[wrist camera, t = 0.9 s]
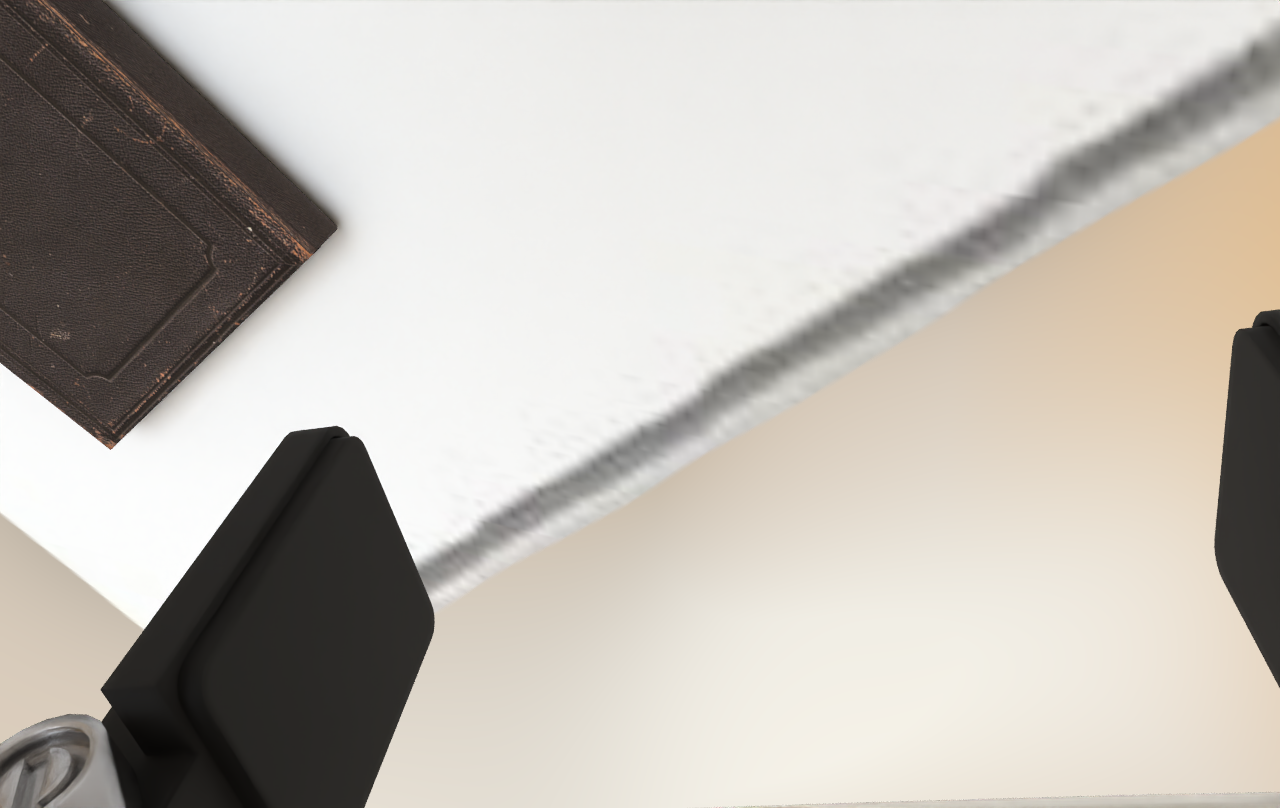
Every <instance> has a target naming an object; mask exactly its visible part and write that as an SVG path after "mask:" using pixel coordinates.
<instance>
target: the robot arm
mask: <svg viewBox="0 0 1280 808" xmlns="http://www.w3.org/2000/svg"><path fill="white" fill-rule="evenodd" d="M1214 547H1215V556H1216V561H1217V566H1218V569H1219V572H1220V575H1221V577H1222V579H1223V581H1224V583H1225V585H1226V587H1227V589H1228V591H1229V593H1230V595H1231V597H1232V598H1233V600H1234V602H1235V604H1236V606H1237V608H1238V610H1239V612H1240V614H1241V616H1242V617H1243V619H1244V621H1245V623H1246V625H1247V627H1248V629H1249V630H1250V632H1251V634H1252V636H1253V638H1254V640H1255V642H1256V644H1257V646H1258V648H1259V650H1260V651H1261V653H1262V655H1263V657H1264V659H1265V661H1266V663H1267V665H1268V667H1269V669H1270V670H1271V672H1272V674H1273V676H1274V678H1275V680H1276V682H1277V683H1278V686H1279V687H1280V310H1271V311H1263V312H1260V313H1259V314H1258V315H1257V316H1256V318H1255V320H1254V323H1253V326H1252V328H1245V329H1239V330H1238V331H1237V332H1236V334H1235V336H1234V340H1233V346H1232V356H1231V367H1230V378H1229V389H1228V399H1227V411H1226V421H1225V432H1224V444H1223V454H1222V465H1221V476H1220V487H1219V498H1218V509H1217V519H1216V530H1215V546H1214ZM433 632H434V611H433V607H432V604H431V601H430V599H429V597H428V594H427V592H426V590H425V587H424V585H423V582H422V580H421V578H420V575H419V573H418V571H417V568H416V566H415V563H414V561H413V559H412V556H411V554H410V552H409V549H408V547H407V545H406V542H405V540H404V537H403V535H402V533H401V530H400V528H399V526H398V523H397V521H396V519H395V516H394V514H393V511H392V509H391V507H390V504H389V502H388V500H387V497H386V495H385V492H384V490H383V488H382V485H381V483H380V481H379V478H378V476H377V474H376V471H375V469H374V466H373V464H372V462H371V459H370V457H369V455H368V452H367V450H366V448H365V446H364V444H363V442H362V441H361V440H360V439H359V438H358V437H355V436H351V437H350V436H349V434H348V433H347V432H346V431H345V430H344V429H343V428H341V427H338V426H333V427H325V428H317V429H308V430H300V431H294V432H290V433H289V434H288V435H287V436H286V437H285V438H284V439H283V441H282V442H281V443H280V445H279V446H278V447H277V449H276V450H275V452H274V453H273V454H272V456H271V457H270V458H269V460H268V461H267V462H266V464H265V465H264V467H263V468H262V469H261V471H260V472H259V473H258V475H257V476H256V478H255V479H254V480H253V482H252V483H251V484H250V486H249V487H248V488H247V490H246V491H245V493H244V494H243V495H242V497H241V498H240V499H239V501H238V502H237V504H236V505H235V506H234V508H233V509H232V510H231V512H230V513H229V514H228V516H227V517H226V519H225V520H224V521H223V523H222V524H221V525H220V527H219V528H218V530H217V531H216V532H215V534H214V535H213V536H212V538H211V539H210V540H209V542H208V543H207V545H206V546H205V547H204V549H203V550H202V551H201V553H200V554H199V556H198V557H197V558H196V560H195V561H194V562H193V564H192V565H191V566H190V568H189V569H188V571H187V572H186V573H185V575H184V576H183V577H182V579H181V580H180V582H179V583H178V584H177V586H176V587H175V588H174V590H173V591H172V592H171V594H170V595H169V597H168V598H167V599H166V601H165V602H164V603H163V605H162V606H161V608H160V609H159V610H158V612H157V613H156V614H155V616H154V617H153V618H152V620H151V621H150V623H149V624H148V625H147V627H146V628H145V629H144V631H143V632H142V634H141V635H140V636H139V638H138V639H137V640H136V642H135V643H134V645H133V646H132V647H131V649H130V650H129V651H128V653H127V654H126V655H125V657H124V658H123V660H122V661H121V662H120V664H119V665H118V666H117V668H116V669H115V671H114V672H113V673H112V675H111V676H110V677H109V679H108V680H107V681H106V683H105V684H104V686H103V687H102V688H101V691H102V693H103V694H104V696H105V697H106V698H107V700H108V701H109V703H110V704H111V706H112V708H111V709H110V710H109V712H108V713H107V715H106V716H105V718H104V719H103V721H102V722H101V721H100V720H97V719H95V718H93V717H91V716H89V715H80V714H79V715H76V714H67V715H64V716H59V717H55V718H51V719H47V720H44V721H42V722H40V723H37V724H35V725H33V726H30V727H28V728H26V729H23V730H22V731H20V732H18V733H17V734H15V735H14V736H12V737H10V738H9V739H7V740H5V741H4V742H2V743H1V744H0V808H364V807H365V804H366V802H367V799H368V797H369V794H370V792H371V789H372V787H373V784H374V781H375V779H376V777H377V774H378V772H379V769H380V766H381V764H382V762H383V759H384V757H385V754H386V752H387V749H388V747H389V744H390V742H391V739H392V737H393V734H394V732H395V729H396V727H397V724H398V722H399V719H400V717H401V714H402V712H403V709H404V706H405V704H406V702H407V699H408V697H409V694H410V691H411V689H412V686H413V684H414V682H415V679H416V676H417V674H418V672H419V669H420V666H421V664H422V661H423V659H424V656H425V654H426V651H427V649H428V646H429V644H430V641H431V639H432V636H433ZM716 808H1280V792H1262V793H1261V792H1260V793H1219V794H1218V793H1216V794H1215V793H1212V794H1148V795H1112V796H1081V797H1080V796H1077V797H1042V798H1007V799H972V800H941V801H940V800H937V801H905V802H904V801H901V802H866V803H836V804H806V805H776V806H748V807H747V806H746V807H745V806H744V807H716Z"/></svg>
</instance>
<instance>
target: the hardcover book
mask: <svg viewBox="0 0 1280 808" xmlns="http://www.w3.org/2000/svg"><path fill="white" fill-rule="evenodd" d="M336 230H337V226H336V225H335V224H334V223H333V222H332V221H331V220H330V219H329V218H328V217H327V216H326V215H325V214H324V213H323V212H322V211H321V210H320V209H319V208H318V207H317V206H316V205H315V204H314V203H312V202H311V201H310V200H309V199H308V198H307V197H306V196H305V195H304V194H303V193H302V192H301V191H300V190H299V189H298V188H297V187H296V186H295V185H294V184H293V183H292V182H291V181H290V180H288V179H287V178H286V177H285V176H284V175H283V174H282V173H281V172H280V171H279V170H278V169H277V168H276V167H275V166H274V165H273V164H272V163H271V162H270V161H269V160H268V159H267V158H266V157H265V156H263V155H262V154H261V153H260V152H259V151H258V150H257V149H256V148H255V147H254V146H253V145H252V144H251V143H250V142H249V141H248V140H247V139H246V138H245V137H244V136H243V135H242V134H241V133H239V132H238V131H237V130H236V129H235V128H234V127H233V126H232V125H231V124H230V123H229V122H228V121H227V120H226V119H225V118H224V117H223V116H222V115H221V114H220V113H219V112H218V111H217V110H215V109H214V108H213V107H212V106H211V105H210V104H209V103H208V102H207V101H206V100H205V99H204V98H203V97H202V96H201V95H200V94H199V93H198V92H197V91H196V90H195V89H194V88H193V87H192V86H190V85H189V84H188V83H187V82H186V81H185V80H184V79H183V78H182V77H181V76H180V75H179V74H178V73H177V72H176V71H175V70H174V69H173V68H172V67H171V66H170V65H169V64H168V63H166V62H165V61H164V60H163V59H162V58H161V57H160V56H159V55H158V54H157V53H156V52H155V51H154V50H153V49H152V48H151V47H150V46H149V45H148V44H147V43H146V42H145V41H144V40H143V39H141V38H140V37H139V36H138V35H137V34H136V33H135V32H134V31H133V30H132V29H131V28H130V27H129V26H128V25H127V24H126V23H125V22H124V21H123V20H122V19H121V18H120V17H119V16H117V15H116V14H115V13H114V12H113V11H112V10H111V9H110V8H109V7H108V6H107V5H106V4H105V3H104V2H103V1H102V0H0V363H1V364H2V365H4V366H5V367H6V368H8V369H9V370H10V371H11V372H13V373H14V374H15V375H16V376H18V377H19V378H20V379H21V380H23V381H24V382H25V383H27V384H28V385H29V386H30V387H32V388H33V389H34V390H35V391H37V392H38V393H39V394H40V395H42V396H43V397H44V398H46V399H47V400H48V401H49V402H51V403H52V404H53V405H54V406H56V407H57V408H58V409H59V410H61V411H62V412H63V413H65V414H66V415H67V416H68V417H70V418H71V419H72V420H73V421H75V422H76V423H77V424H78V425H80V426H81V427H82V428H84V429H85V430H86V431H87V432H89V433H90V434H91V435H92V436H94V437H95V438H96V439H97V440H99V441H100V442H101V443H103V444H104V445H105V446H106V447H108V448H109V449H110V450H111V449H112V448H113V447H114V446H115V445H116V444H117V443H118V442H119V441H120V440H121V439H122V438H123V437H124V436H125V435H126V434H128V433H129V432H130V431H131V430H132V429H133V428H134V427H135V426H136V425H137V424H138V423H139V422H140V421H141V420H142V419H143V418H144V417H145V416H146V415H147V414H148V413H149V412H150V411H151V410H152V409H153V408H154V407H155V406H156V405H158V404H159V403H160V402H161V401H162V400H163V399H164V398H165V397H166V396H167V395H168V394H169V393H170V392H171V391H172V390H173V389H174V388H175V387H176V386H177V385H178V384H179V383H180V382H181V381H182V380H183V379H184V378H185V377H186V376H188V375H189V374H190V373H191V372H192V371H193V370H194V369H195V368H196V367H197V366H198V365H199V364H200V363H201V362H202V361H203V360H204V359H205V358H206V357H207V356H208V355H209V354H210V353H211V352H212V351H213V350H214V349H215V348H216V347H218V346H219V345H220V344H221V343H222V342H223V341H224V340H225V339H226V338H227V337H228V336H229V335H230V334H231V333H232V332H233V331H234V330H235V329H236V328H237V327H238V326H239V325H240V324H241V323H242V322H243V321H244V320H245V319H246V318H248V317H249V316H250V315H251V314H252V313H253V312H254V311H255V310H256V309H257V308H258V307H259V306H260V305H261V304H262V303H263V302H264V301H265V300H266V299H267V298H268V297H269V296H270V295H271V294H272V293H273V292H274V291H275V290H276V289H278V288H279V287H280V286H281V285H282V284H283V283H284V282H285V281H286V280H287V279H288V278H289V277H290V276H291V275H292V274H293V273H294V272H295V271H296V270H297V269H298V268H299V267H300V266H301V265H302V264H303V263H304V262H305V261H306V260H308V259H309V258H310V257H311V256H312V255H313V254H314V253H315V252H316V251H317V250H318V249H319V248H320V247H321V245H322V244H323V243H324V242H325V241H326V240H327V239H328V238H329V237H330V236H331V235H332V234H333V233H334V232H335V231H336Z"/></svg>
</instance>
